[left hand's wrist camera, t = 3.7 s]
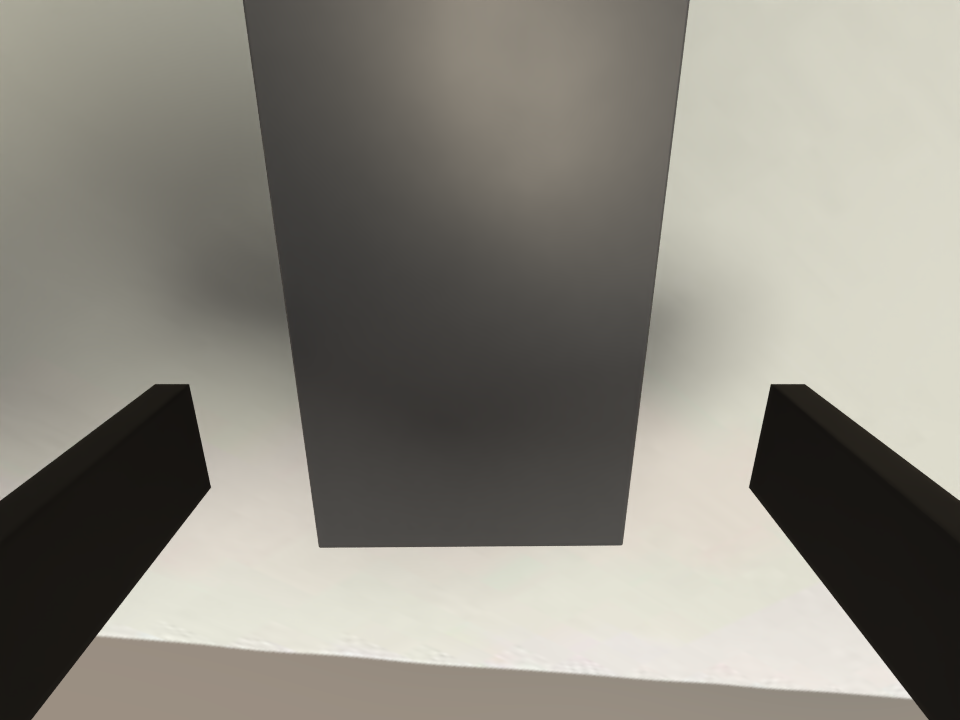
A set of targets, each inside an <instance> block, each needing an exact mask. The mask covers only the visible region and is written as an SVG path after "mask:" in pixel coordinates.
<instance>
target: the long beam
mask: <svg viewBox="0 0 960 720" xmlns="http://www.w3.org/2000/svg"><path fill="white" fill-rule="evenodd" d="M689 1H690V0H243V5H244V12H245V19H246V26H247V33H248V40H249V48H250V55H251V62H252V69H253V76H254V84H255V91H256V98H257V105H258V112H259V120H260V127H261V134H262V141H263V148H264V155H265V163H266V170H267V177H268V184H269V191H270V199H271V206H272V213H273V220H274V227H275V235H276V242H277V249H278V256H279V263H280V270H281V278H282V285H283V292H284V299H285V306H286V314H287V321H288V328H289V335H290V342H291V350H292V357H293V364H294V371H295V378H296V385H297V393H298V400H299V407H300V414H301V421H302V429H303V436H304V443H305V450H306V457H307V465H308V472H309V479H310V486H311V493H312V500H313V508H314V515H315V522H316V529H317V536H318V544H319V547H320V548H335V547H467V546H599V545H622V544H623V537H624V529H625V520H626V512H627V504H628V496H629V488H630V480H631V472H632V464H633V456H634V447H635V439H636V431H637V423H638V415H639V407H640V399H641V391H642V383H643V374H644V366H645V358H646V350H647V342H648V334H649V326H650V318H651V309H652V301H653V293H654V285H655V277H656V269H657V261H658V253H659V245H660V236H661V228H662V220H663V212H664V204H665V196H666V188H667V180H668V171H669V163H670V155H671V147H672V139H673V131H674V123H675V115H676V107H677V98H678V90H679V82H680V74H681V66H682V58H683V50H684V42H685V34H686V25H687V17H688V9H689Z"/></svg>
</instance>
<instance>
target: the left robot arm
mask: <svg viewBox="0 0 960 720" xmlns="http://www.w3.org/2000/svg"><path fill="white" fill-rule="evenodd" d="M210 488H211V485H210V481H209V476H208V471H207V467H206V462H205V457H204V452H203V448H202V443H201V438H200V434H199V429H198V424H197V419H196V415H195V410H194V405H193V401H192V396H191V391H190V386H189V384H155V385H154V386H152V387H151V388H150V389H148V390H147V391H146V392H144V393H143V394H142V395H140V396H139V397H138V398H136V399H135V400H134V401H132V402H131V403H130V404H128V405H127V406H126V407H124V408H123V409H122V410H120V411H119V412H118V413H116V414H115V415H114V416H112V417H111V418H110V419H108V420H107V421H106V422H104V423H103V424H102V425H100V426H99V427H98V428H96V429H95V430H94V431H92V432H91V433H90V434H88V435H87V436H86V437H84V438H83V439H82V440H80V441H79V442H78V443H76V444H75V445H74V446H72V447H71V448H70V449H68V450H67V451H66V452H64V453H63V454H62V455H61V456H59V457H58V458H57V459H55V460H54V461H53V462H51V463H50V464H49V465H47V466H46V467H45V468H43V469H42V470H41V471H39V472H38V473H37V474H35V475H34V476H33V477H31V478H30V479H29V480H27V481H26V482H25V483H23V484H22V485H21V486H19V487H18V488H17V489H15V490H14V491H13V492H11V493H10V494H9V495H7V496H6V497H5V498H3V499H2V500H1V501H0V720H31V719H32V718H33V717H34V716H35V714H36V713H37V712H38V710H39V709H40V708H41V707H42V705H43V704H44V703H45V701H46V700H47V699H48V697H49V696H50V695H51V694H52V692H53V691H54V690H55V688H56V687H57V686H58V685H59V683H60V682H61V681H62V679H63V678H64V677H65V676H66V674H67V673H68V672H69V670H70V669H71V668H72V666H73V665H74V664H75V663H76V661H77V660H78V659H79V657H80V656H81V655H82V654H83V652H84V651H85V650H86V648H87V647H88V646H89V644H90V643H91V642H92V641H93V639H94V638H95V637H96V635H97V634H98V633H99V632H100V630H101V629H102V628H103V626H104V625H105V624H106V623H107V621H108V620H109V619H110V617H111V616H112V615H113V613H114V612H115V611H116V610H117V608H118V607H119V606H120V604H121V603H122V602H123V601H124V599H125V598H126V597H127V595H128V594H129V593H130V592H131V590H132V589H133V588H134V586H135V585H136V584H137V582H138V581H139V580H140V579H141V577H142V576H143V575H144V573H145V572H146V571H147V570H148V568H149V567H150V566H151V564H152V563H153V562H154V560H155V559H156V558H157V557H158V555H159V554H160V553H161V551H162V550H163V549H164V548H165V546H166V545H167V544H168V542H169V541H170V540H171V539H172V537H173V536H174V535H175V533H176V532H177V531H178V529H179V528H180V527H181V526H182V524H183V523H184V522H185V520H186V519H187V518H188V517H189V515H190V514H191V513H192V511H193V510H194V509H195V507H196V506H197V505H198V504H199V502H200V501H201V500H202V498H203V497H204V496H205V495H206V493H207V492H208V491H209V489H210ZM749 488H750V489H751V491H752V492H753V493H754V495H755V496H756V497H757V498H758V500H759V501H760V502H761V504H762V505H763V506H764V507H765V509H766V510H767V511H768V513H769V514H770V515H771V517H772V518H773V519H774V520H775V522H776V523H777V524H778V526H779V527H780V528H781V529H782V531H783V532H784V533H785V535H786V536H787V537H788V539H789V540H790V541H791V542H792V544H793V545H794V546H795V548H796V549H797V550H798V551H799V553H800V554H801V555H802V557H803V558H804V559H805V560H806V562H807V563H808V564H809V566H810V567H811V568H812V570H813V571H814V572H815V573H816V575H817V576H818V577H819V579H820V580H821V581H822V582H823V584H824V585H825V586H826V588H827V589H828V590H829V592H830V593H831V594H832V595H833V597H834V598H835V599H836V601H837V602H838V603H839V604H840V606H841V607H842V608H843V610H844V611H845V612H846V613H847V615H848V616H849V617H850V619H851V620H852V621H853V623H854V624H855V625H856V626H857V628H858V629H859V630H860V632H861V633H862V634H863V635H864V637H865V638H866V639H867V641H868V642H869V643H870V644H871V646H872V647H873V648H874V650H875V651H876V652H877V654H878V655H879V656H880V657H881V659H882V660H883V661H884V663H885V664H886V665H887V666H888V668H889V669H890V670H891V672H892V673H893V674H894V676H895V677H896V678H897V679H898V681H899V682H900V683H901V685H902V686H903V687H904V688H905V690H906V691H907V692H908V694H909V695H910V696H911V697H912V699H913V700H914V701H915V703H916V704H917V705H918V706H919V708H920V709H921V710H922V712H923V713H924V714H925V716H926V717H927V718H928V719H929V720H960V500H958V499H957V498H955V497H954V496H953V495H951V494H950V493H949V492H947V491H946V490H945V489H943V488H942V487H941V486H939V485H938V484H937V483H935V482H934V481H933V480H931V479H930V478H929V477H927V476H926V475H925V474H923V473H922V472H921V471H919V470H918V469H917V468H915V467H914V466H913V465H911V464H910V463H909V462H907V461H906V460H905V459H903V458H902V457H901V456H899V455H898V454H897V453H896V452H894V451H893V450H892V449H890V448H889V447H888V446H886V445H885V444H884V443H882V442H881V441H880V440H878V439H877V438H876V437H874V436H873V435H872V434H870V433H869V432H868V431H866V430H865V429H864V428H862V427H861V426H860V425H858V424H857V423H856V422H854V421H853V420H852V419H850V418H849V417H848V416H846V415H845V414H844V413H842V412H841V411H840V410H838V409H837V408H836V407H834V406H833V405H832V404H830V403H829V402H828V401H826V400H825V399H824V398H822V397H821V396H820V395H818V394H817V393H816V392H814V391H813V390H812V389H810V388H809V387H808V386H806V385H805V384H771V386H770V391H769V396H768V401H767V405H766V410H765V415H764V419H763V424H762V429H761V434H760V438H759V443H758V448H757V452H756V457H755V462H754V467H753V471H752V476H751V481H750V485H749Z"/></svg>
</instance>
